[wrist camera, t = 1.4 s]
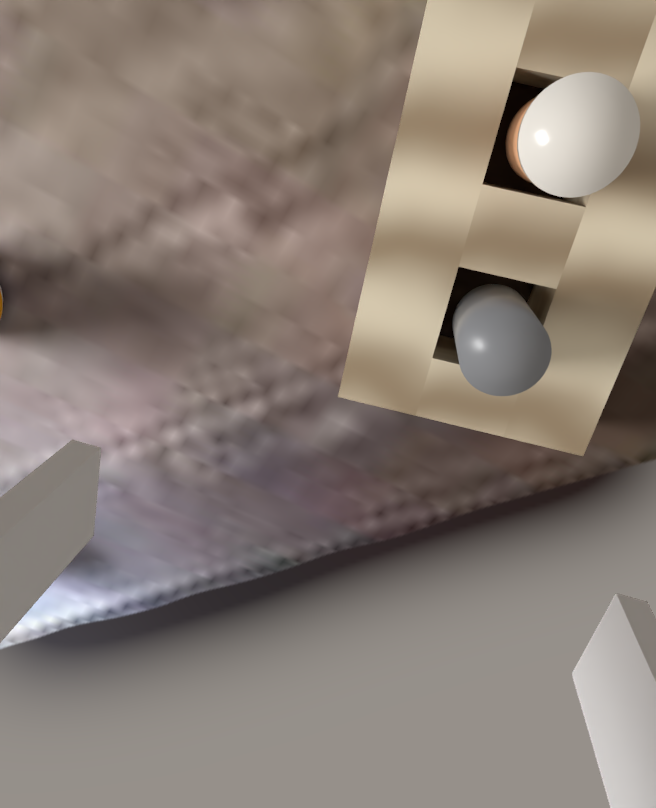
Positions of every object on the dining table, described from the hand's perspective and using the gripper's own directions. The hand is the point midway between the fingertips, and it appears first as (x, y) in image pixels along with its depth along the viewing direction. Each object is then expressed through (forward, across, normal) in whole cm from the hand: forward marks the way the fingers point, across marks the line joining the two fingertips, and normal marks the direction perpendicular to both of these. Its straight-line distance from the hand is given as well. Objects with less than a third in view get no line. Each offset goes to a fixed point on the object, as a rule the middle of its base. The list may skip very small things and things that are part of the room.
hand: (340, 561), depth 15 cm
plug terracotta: (+20, +5, +12) cm, 23 cm away
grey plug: (+20, +5, +3) cm, 21 cm away
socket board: (+24, +5, +12) cm, 27 cm away
